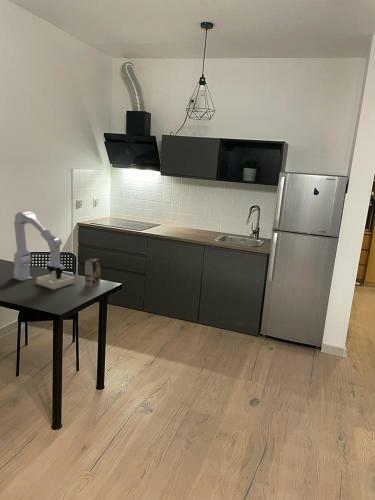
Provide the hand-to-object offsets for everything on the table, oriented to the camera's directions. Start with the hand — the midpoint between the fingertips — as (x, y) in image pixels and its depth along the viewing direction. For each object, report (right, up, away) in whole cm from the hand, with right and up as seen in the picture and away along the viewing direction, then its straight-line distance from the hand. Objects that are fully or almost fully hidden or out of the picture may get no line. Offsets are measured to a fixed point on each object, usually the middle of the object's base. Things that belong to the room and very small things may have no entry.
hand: (55, 278), depth 229 cm
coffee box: (+22, -4, +5) cm, 23 cm away
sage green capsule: (0, -2, 0) cm, 2 cm away
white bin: (0, -4, +1) cm, 4 cm away
